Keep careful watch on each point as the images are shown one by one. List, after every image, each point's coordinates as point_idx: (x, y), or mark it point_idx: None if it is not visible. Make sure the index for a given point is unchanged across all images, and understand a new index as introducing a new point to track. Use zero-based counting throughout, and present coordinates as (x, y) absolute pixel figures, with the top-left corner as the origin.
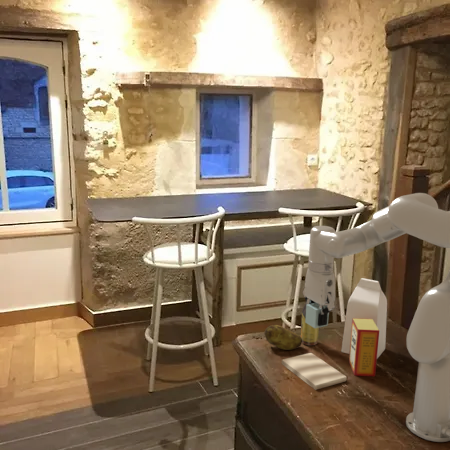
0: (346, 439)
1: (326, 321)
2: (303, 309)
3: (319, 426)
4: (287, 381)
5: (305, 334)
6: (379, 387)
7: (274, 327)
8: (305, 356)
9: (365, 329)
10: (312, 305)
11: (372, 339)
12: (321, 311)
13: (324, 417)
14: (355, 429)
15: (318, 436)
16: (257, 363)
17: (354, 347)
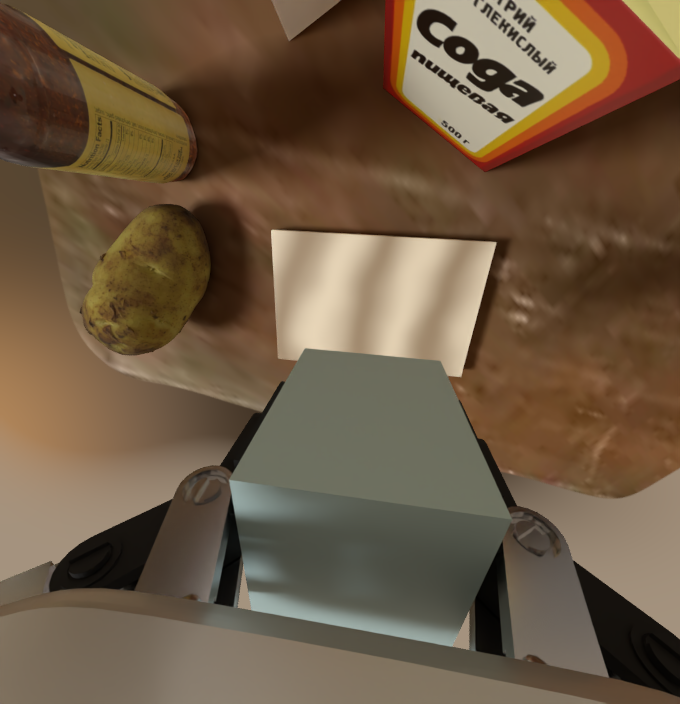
0: (666, 455)
1: (487, 447)
2: None
3: (577, 465)
4: None
5: (150, 176)
6: (626, 142)
7: (114, 334)
8: (289, 273)
9: None
10: (305, 598)
11: None
12: (496, 612)
13: (565, 435)
14: (668, 414)
15: (598, 488)
16: (254, 402)
17: (494, 104)
